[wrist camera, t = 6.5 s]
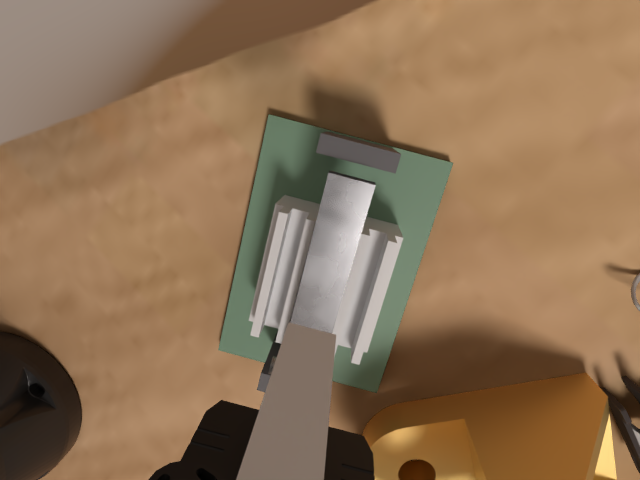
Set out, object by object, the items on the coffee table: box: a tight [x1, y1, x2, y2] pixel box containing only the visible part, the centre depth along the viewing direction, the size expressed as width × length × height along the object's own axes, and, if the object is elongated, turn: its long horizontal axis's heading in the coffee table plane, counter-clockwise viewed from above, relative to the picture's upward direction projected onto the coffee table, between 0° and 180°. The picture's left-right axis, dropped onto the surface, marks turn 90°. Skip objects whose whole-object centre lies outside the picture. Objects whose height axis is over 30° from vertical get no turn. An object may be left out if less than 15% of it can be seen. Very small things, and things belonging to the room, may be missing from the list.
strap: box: [268, 170, 376, 374], centre depth 28 cm, size 15×4×1 cm, turn 166°
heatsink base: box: [218, 114, 453, 393], centre depth 33 cm, size 20×14×8 cm
